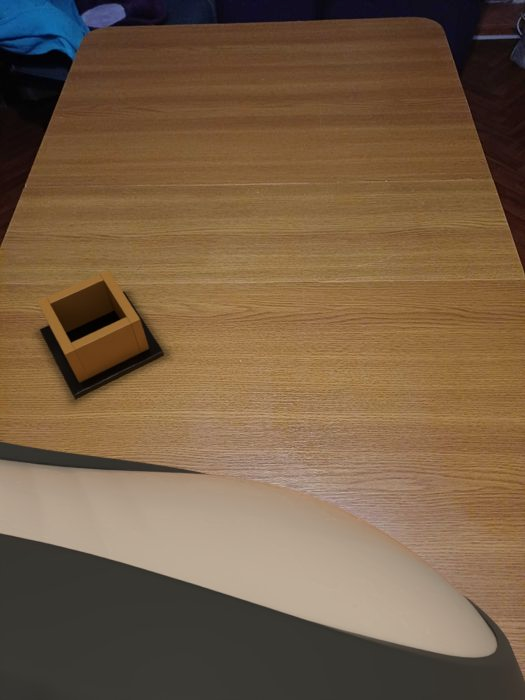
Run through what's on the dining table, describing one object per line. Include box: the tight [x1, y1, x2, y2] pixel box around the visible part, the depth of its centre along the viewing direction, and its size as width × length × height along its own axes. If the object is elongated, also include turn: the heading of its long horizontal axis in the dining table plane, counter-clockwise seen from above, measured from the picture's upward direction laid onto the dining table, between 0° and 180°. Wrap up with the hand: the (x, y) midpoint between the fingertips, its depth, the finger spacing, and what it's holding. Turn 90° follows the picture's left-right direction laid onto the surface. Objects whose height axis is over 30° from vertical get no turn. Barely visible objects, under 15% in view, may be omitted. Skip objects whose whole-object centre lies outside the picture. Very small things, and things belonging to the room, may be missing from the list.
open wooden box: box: [36, 270, 165, 400], centre depth 76 cm, size 12×12×7 cm
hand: (216, 673), depth 33 cm, fingers open, 8 cm apart
